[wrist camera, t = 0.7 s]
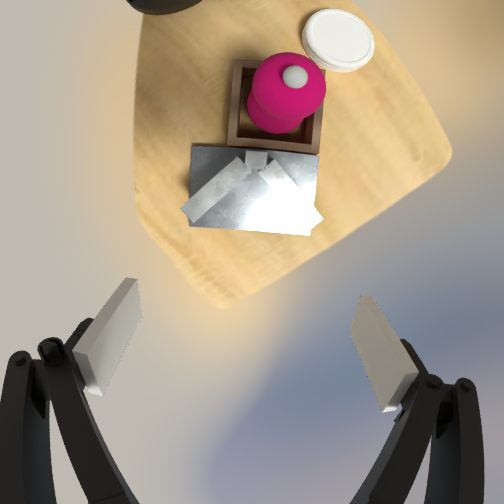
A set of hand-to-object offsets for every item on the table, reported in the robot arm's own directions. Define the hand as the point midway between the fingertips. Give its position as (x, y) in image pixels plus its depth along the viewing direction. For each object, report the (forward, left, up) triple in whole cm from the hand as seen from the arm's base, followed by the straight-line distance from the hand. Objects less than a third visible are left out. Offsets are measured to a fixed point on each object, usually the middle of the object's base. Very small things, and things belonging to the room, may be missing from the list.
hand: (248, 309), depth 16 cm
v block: (-3, 0, -26) cm, 26 cm away
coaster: (-26, +10, -26) cm, 38 cm away
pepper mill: (-14, +2, -26) cm, 30 cm away
